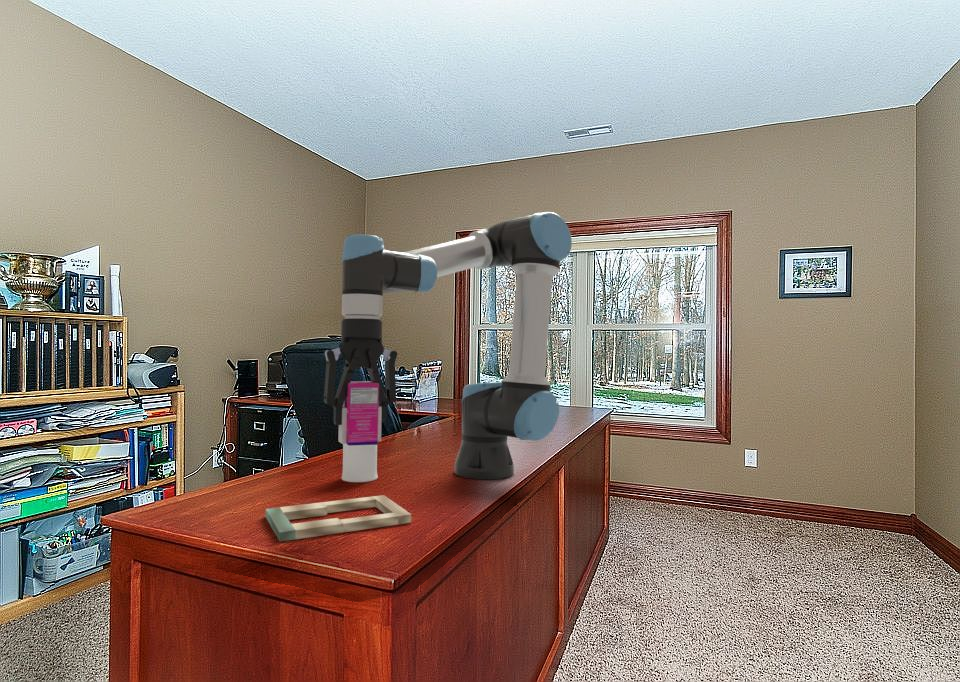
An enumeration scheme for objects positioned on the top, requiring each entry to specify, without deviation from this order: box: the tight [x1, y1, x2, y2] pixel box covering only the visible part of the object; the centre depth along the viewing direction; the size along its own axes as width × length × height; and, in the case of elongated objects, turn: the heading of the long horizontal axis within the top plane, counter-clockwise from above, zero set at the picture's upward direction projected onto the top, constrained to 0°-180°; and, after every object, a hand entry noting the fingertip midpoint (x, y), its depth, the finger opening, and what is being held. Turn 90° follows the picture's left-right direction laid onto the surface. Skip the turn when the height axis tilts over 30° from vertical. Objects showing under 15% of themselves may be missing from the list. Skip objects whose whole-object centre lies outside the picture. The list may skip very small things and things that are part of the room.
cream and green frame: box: [265, 494, 412, 542], centre depth 106 cm, size 23×15×2 cm, turn 119°
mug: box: [341, 444, 379, 483], centre depth 141 cm, size 12×8×12 cm
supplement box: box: [342, 380, 379, 446], centre depth 108 cm, size 6×6×12 cm
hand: (359, 441), depth 108 cm, fingers closed on supplement box, 6 cm apart
